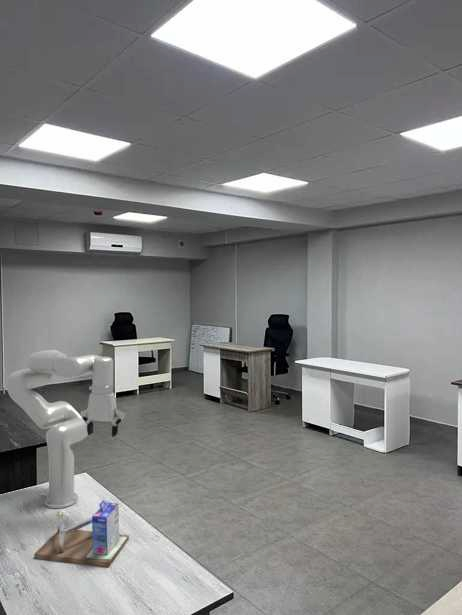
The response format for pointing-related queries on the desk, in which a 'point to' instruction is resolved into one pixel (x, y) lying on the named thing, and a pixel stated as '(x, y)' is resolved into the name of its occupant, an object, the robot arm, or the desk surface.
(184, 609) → the desk surface
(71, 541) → the board
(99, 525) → the ink cartridge box
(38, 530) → the desk surface
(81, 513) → the desk surface
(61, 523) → the bent wire
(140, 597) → the desk surface
